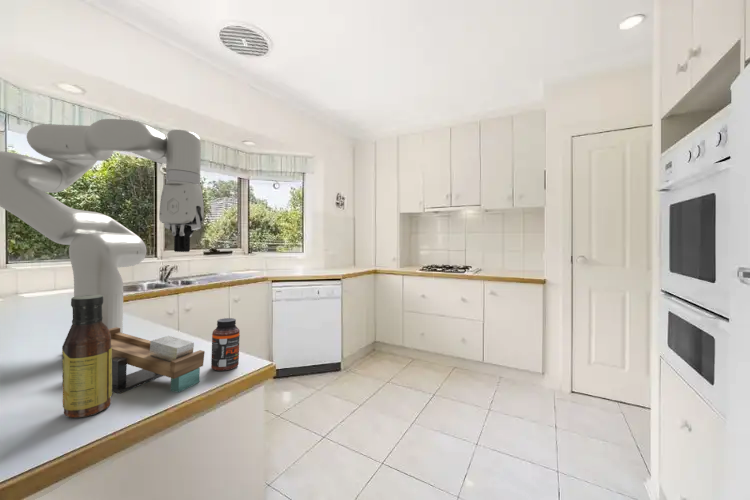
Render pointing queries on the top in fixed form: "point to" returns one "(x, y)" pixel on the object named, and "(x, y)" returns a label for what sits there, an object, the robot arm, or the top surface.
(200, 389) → the top surface
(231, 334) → the supplement bottle
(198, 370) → the fulcrum
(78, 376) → the sauce bottle
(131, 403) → the top surface
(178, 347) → the rider
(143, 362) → the beam
